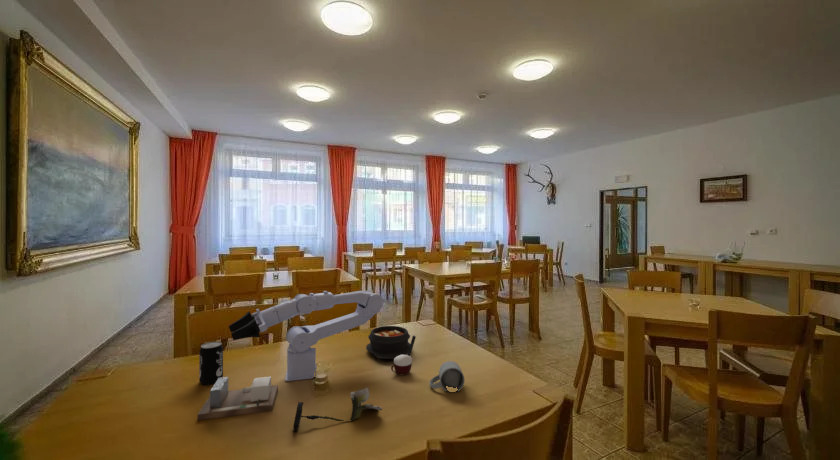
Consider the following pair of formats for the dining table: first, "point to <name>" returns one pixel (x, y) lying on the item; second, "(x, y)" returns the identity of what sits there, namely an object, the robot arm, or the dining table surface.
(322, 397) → the dining table surface
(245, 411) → the base
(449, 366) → the ceramic mug
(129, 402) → the dining table surface
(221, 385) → the grey block
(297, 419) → the artificial flower
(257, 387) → the gauge carriage
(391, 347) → the casserole
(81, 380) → the dining table surface
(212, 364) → the beverage can
